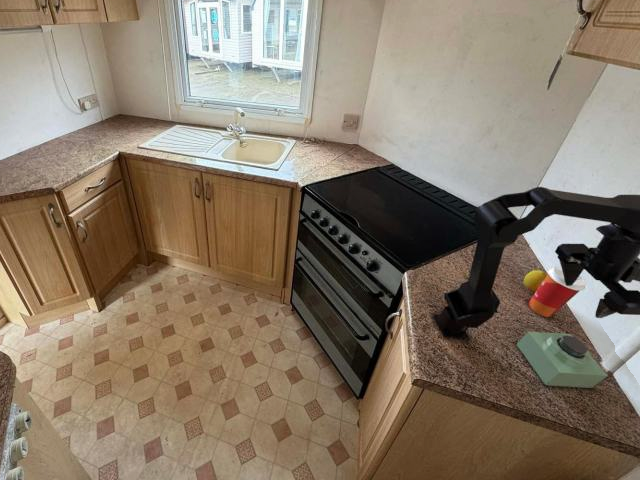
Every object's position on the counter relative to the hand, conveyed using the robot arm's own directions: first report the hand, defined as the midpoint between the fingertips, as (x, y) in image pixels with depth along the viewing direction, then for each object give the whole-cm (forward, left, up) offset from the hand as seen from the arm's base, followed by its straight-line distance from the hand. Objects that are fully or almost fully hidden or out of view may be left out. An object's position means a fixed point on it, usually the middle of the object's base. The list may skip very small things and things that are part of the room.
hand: (582, 300), depth 73 cm
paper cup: (+7, +10, -16) cm, 20 cm away
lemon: (+9, +17, -16) cm, 25 cm away
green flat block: (-3, -7, -16) cm, 18 cm away
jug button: (-3, -7, -9) cm, 12 cm away
